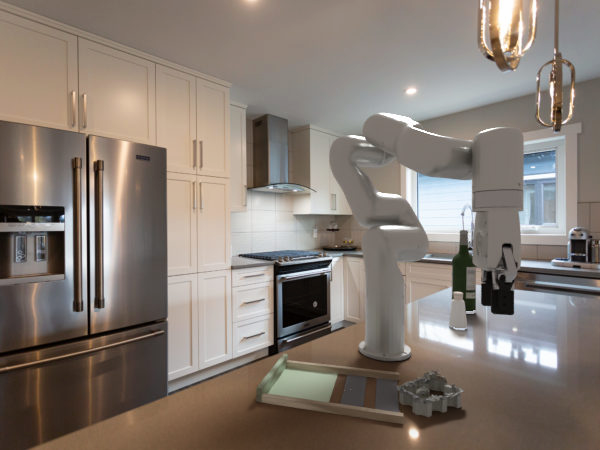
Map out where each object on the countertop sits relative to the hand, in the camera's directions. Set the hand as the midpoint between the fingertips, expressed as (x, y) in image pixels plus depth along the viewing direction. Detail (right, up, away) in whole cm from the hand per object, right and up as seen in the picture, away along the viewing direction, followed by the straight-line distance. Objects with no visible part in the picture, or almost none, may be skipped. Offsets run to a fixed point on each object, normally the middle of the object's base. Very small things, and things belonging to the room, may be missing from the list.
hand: (496, 308), depth 56 cm
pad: (-33, -17, +9) cm, 38 cm away
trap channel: (-27, -17, +7) cm, 33 cm away
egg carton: (-10, -18, +3) cm, 21 cm away
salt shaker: (+16, -18, +46) cm, 51 cm away
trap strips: (-20, -17, +5) cm, 27 cm away
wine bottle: (+27, -18, +64) cm, 72 cm away
